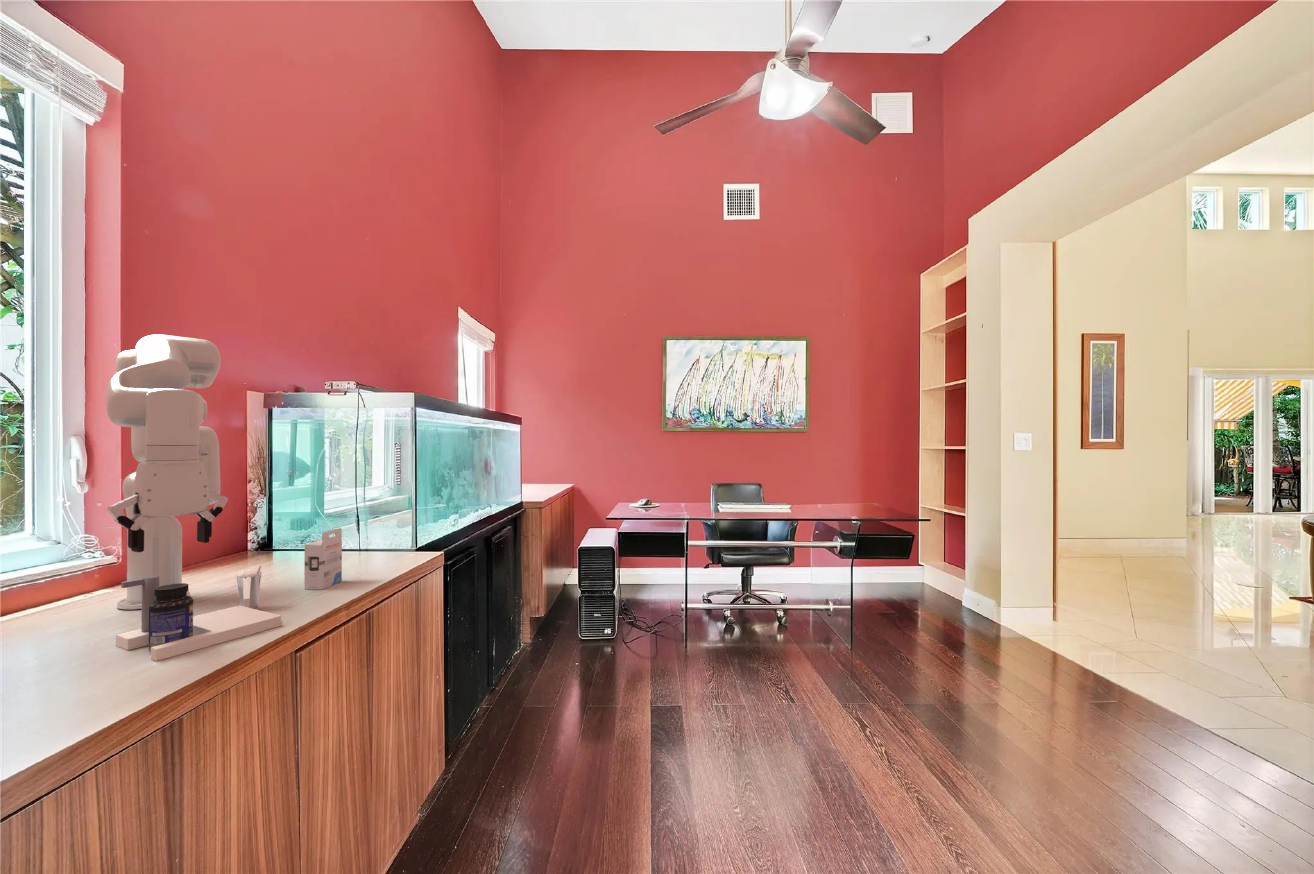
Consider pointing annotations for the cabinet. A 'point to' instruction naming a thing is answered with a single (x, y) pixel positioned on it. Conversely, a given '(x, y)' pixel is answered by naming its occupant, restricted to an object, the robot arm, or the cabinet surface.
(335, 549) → the ink box
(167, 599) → the pill bottle
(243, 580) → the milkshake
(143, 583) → the forked stand with post
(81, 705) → the cabinet surface
